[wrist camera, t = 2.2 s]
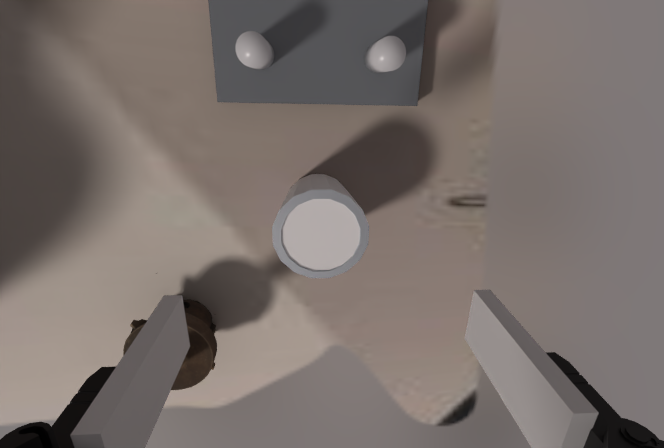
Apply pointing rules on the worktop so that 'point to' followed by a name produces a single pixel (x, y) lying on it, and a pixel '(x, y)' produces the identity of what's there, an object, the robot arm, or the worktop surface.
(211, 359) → the industrial component
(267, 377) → the worktop surface
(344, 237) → the shot glass
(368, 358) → the worktop surface
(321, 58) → the pin plate
